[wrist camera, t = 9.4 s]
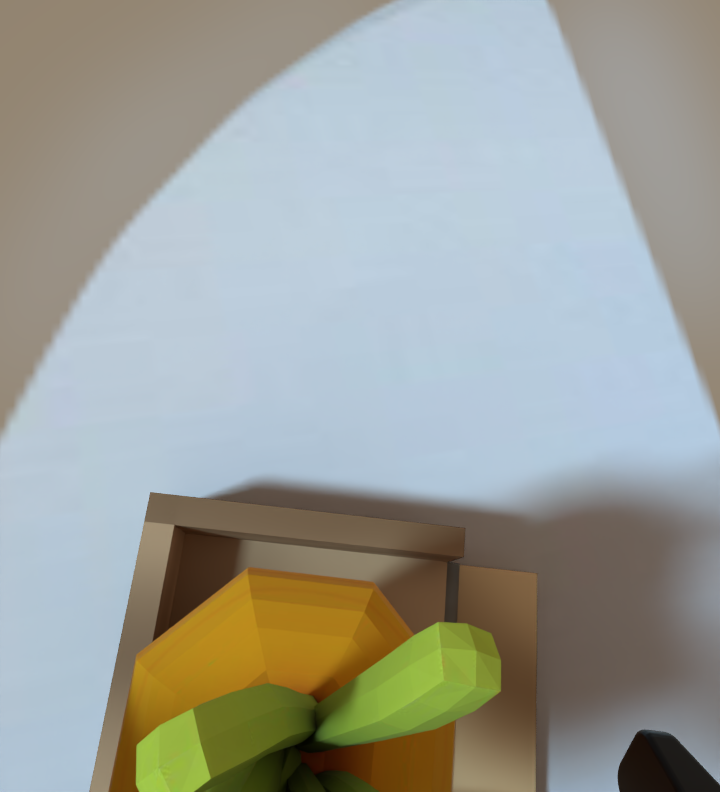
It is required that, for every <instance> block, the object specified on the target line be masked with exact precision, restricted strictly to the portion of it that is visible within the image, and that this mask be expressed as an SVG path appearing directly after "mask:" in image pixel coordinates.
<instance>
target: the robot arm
mask: <svg viewBox="0 0 720 792" xmlns="http://www.w3.org/2000/svg"><path fill="white" fill-rule="evenodd" d="M618 785H619V791H620V792H720V785H719V783H718V782H717V781H716V780H715V779H714V778H713V777H712V776H711V775H710V774H709V773H708V772H707V771H706V770H705V769H704V768H703V766H702V765H701V764H700V763H699V762H698V761H697V760H696V759H695V758H694V757H693V756H692V755H691V754H690V753H689V752H688V751H687V749H686V748H685V747H684V746H683V745H682V744H681V743H680V742H679V741H678V740H677V739H676V738H675V737H674V736H672V735H671V734H669V733H666V732H661V731H653V730H641V731H639V732H637V734H636V735H635V737H634V739H633V741H632V742H631V744H630V746H629V748H628V750H627V752H626V754H625V756H624V757H623V759H622V761H621V763H620V766H619V770H618Z"/></svg>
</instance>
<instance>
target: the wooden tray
mask: <svg viewBox="0 0 720 792" xmlns="http://www.w3.org/2000/svg"><path fill="white" fill-rule="evenodd" d="M464 542H465V528H460V527H452V526H443V525H434V524H425V523H416V522H408V521H399V520H390V519H381V518H372V517H364V516H355V515H346V514H337V513H328V512H320V511H311V510H302V509H293V508H284V507H276V506H267V505H258V504H249V503H240V502H232V501H223V500H214V499H205V498H196V497H188V496H179V495H170V494H161V493H152V492H150V497H149V502H148V506H147V511H146V516H145V521H144V526H143V531H142V536H141V541H140V546H139V551H138V556H137V560H136V565H135V570H134V575H133V580H132V585H131V590H130V595H129V600H128V605H127V609H126V614H125V619H124V624H123V629H122V634H121V639H120V644H119V649H118V654H117V659H116V663H115V668H114V673H113V678H112V683H111V688H110V693H109V698H108V703H107V708H106V713H105V717H104V722H103V727H102V732H101V737H100V742H99V747H98V752H97V757H96V762H95V767H94V771H93V776H92V781H91V786H90V791H89V792H108V790H109V786H110V781H111V776H112V771H113V766H114V761H115V756H116V752H117V747H118V742H119V737H120V732H121V727H122V722H123V718H124V713H125V708H126V703H127V698H128V693H129V688H130V684H131V679H132V674H133V669H134V664H135V659H136V655H137V654H138V653H139V652H140V651H142V650H143V649H144V648H145V647H147V646H148V645H149V644H151V643H152V642H153V641H154V640H156V639H157V638H158V637H160V636H161V635H162V634H163V633H165V632H166V631H167V630H169V629H170V628H171V627H172V626H174V625H175V624H176V623H178V622H179V621H180V620H181V619H183V618H184V617H185V616H187V615H188V614H189V613H190V612H192V611H193V610H194V609H196V608H197V607H198V606H199V605H201V604H202V603H203V602H205V601H206V600H207V599H208V598H210V597H211V596H212V595H213V594H215V593H216V592H217V591H219V590H220V589H221V588H222V587H224V586H225V585H226V584H228V583H229V582H230V581H231V580H233V579H234V578H235V577H237V576H238V575H239V574H240V573H242V572H243V571H244V570H246V569H247V568H248V567H254V568H262V569H270V570H279V571H287V572H296V573H304V574H312V575H321V576H329V577H338V578H346V579H355V580H363V581H371V582H374V583H375V584H376V586H377V587H378V588H379V590H380V591H381V592H382V593H383V595H384V596H385V597H386V599H387V600H388V601H389V603H390V604H391V605H392V606H393V608H394V609H395V610H396V612H397V613H398V614H399V616H400V617H401V618H402V619H403V621H404V622H405V623H406V625H407V626H408V627H409V628H410V630H411V631H412V632H413V634H414V635H416V634H417V633H419V632H421V631H423V630H425V629H426V628H428V627H430V626H432V625H434V624H435V623H437V622H449V623H467V624H470V625H472V626H474V627H477V628H479V629H482V630H484V631H487V632H489V633H491V634H492V636H493V639H494V642H495V645H496V647H497V650H498V653H499V656H500V659H501V692H499V693H498V694H497V695H495V696H494V697H493V698H491V699H490V700H489V701H487V702H486V703H485V704H483V705H482V706H481V707H480V708H478V709H477V710H476V711H474V712H472V713H469V714H467V715H465V716H463V717H461V718H459V719H456V720H455V735H454V753H453V771H452V789H451V792H536V677H537V573H530V572H521V571H512V570H503V569H494V568H485V567H475V566H466V565H460V564H456V563H450V562H449V561H453V560H456V559H459V558H462V557H464Z"/></svg>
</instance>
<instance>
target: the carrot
mask: <svg viewBox="0 0 720 792" xmlns="http://www.w3.org/2000/svg"><path fill="white" fill-rule="evenodd" d="M499 692H501V659H500V656H499V653H498V650H497V647H496V645H495V642H494V639H493V636H492V634H491V633H489V632H487V631H484V630H482V629H479V628H477V627H474V626H472V625H470V624H467V623H449V622H437V623H435V624H434V625H432V626H430V627H428V628H426V629H425V630H423V631H421V632H419V633H417V634H416V635H414V634H413V632H412V631H411V630H410V628H409V627H408V626H407V625H406V623H405V622H404V621H403V619H402V618H401V617H400V616H399V614H398V613H397V612H396V610H395V609H394V608H393V606H392V605H391V604H390V603H389V601H388V600H387V599H386V597H385V596H384V595H383V593H382V592H381V591H380V590H379V588H378V587H377V586H376V584H375V583H374V582H371V581H363V580H355V579H346V578H338V577H329V576H321V575H312V574H304V573H296V572H287V571H279V570H270V569H262V568H254V567H248V568H247V569H246V570H244V571H243V572H242V573H240V574H239V575H238V576H237V577H235V578H234V579H233V580H231V581H230V582H229V583H228V584H226V585H225V586H224V587H222V588H221V589H220V590H219V591H217V592H216V593H215V594H213V595H212V596H211V597H210V598H208V599H207V600H206V601H205V602H203V603H202V604H201V605H199V606H198V607H197V608H196V609H194V610H193V611H192V612H190V613H189V614H188V615H187V616H185V617H184V618H183V619H181V620H180V621H179V622H178V623H176V624H175V625H174V626H172V627H171V628H170V629H169V630H167V631H166V632H165V633H163V634H162V635H161V636H160V637H158V638H157V639H156V640H154V641H153V642H152V643H151V644H149V645H148V646H147V647H145V648H144V649H143V650H142V651H140V652H139V653H138V654H137V655H136V659H135V664H134V669H133V674H132V679H131V684H130V688H129V693H128V698H127V703H126V708H125V713H124V718H123V722H122V727H121V732H120V737H119V742H118V747H117V752H116V756H115V761H114V766H113V771H112V776H111V781H110V786H109V790H108V792H451V789H452V771H453V753H454V735H455V720H456V719H459V718H461V717H463V716H465V715H467V714H469V713H472V712H474V711H476V710H477V709H478V708H480V707H481V706H482V705H483V704H485V703H486V702H487V701H489V700H490V699H491V698H493V697H494V696H495V695H497V694H498V693H499Z"/></svg>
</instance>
